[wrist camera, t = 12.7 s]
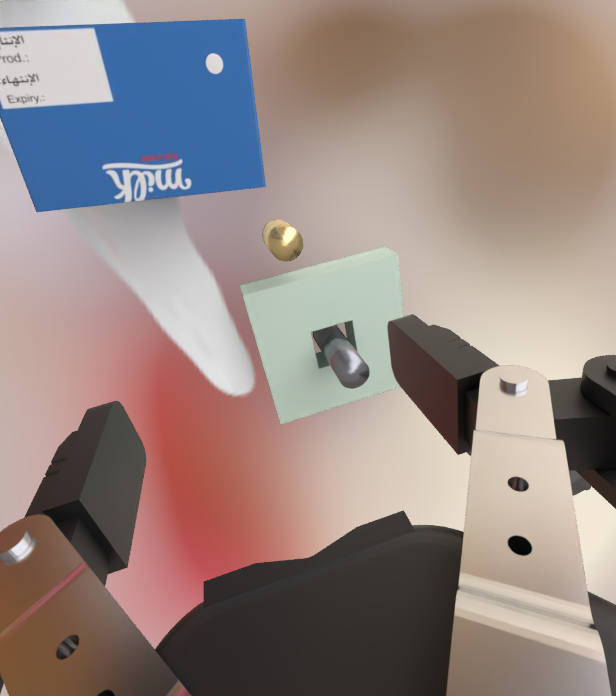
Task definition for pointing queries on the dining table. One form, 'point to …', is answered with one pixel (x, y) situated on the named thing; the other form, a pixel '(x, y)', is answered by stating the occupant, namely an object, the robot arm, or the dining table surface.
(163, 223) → the dining table surface
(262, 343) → the hole block
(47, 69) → the milk carton
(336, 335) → the long pin
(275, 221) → the short pin
